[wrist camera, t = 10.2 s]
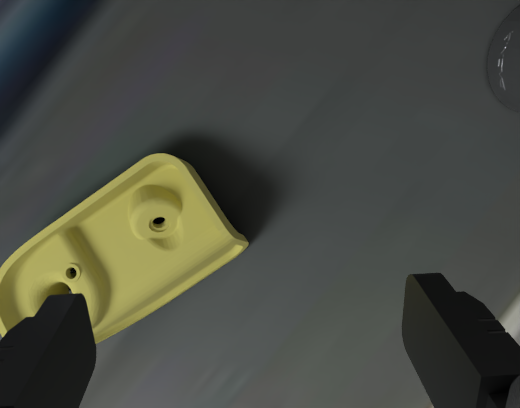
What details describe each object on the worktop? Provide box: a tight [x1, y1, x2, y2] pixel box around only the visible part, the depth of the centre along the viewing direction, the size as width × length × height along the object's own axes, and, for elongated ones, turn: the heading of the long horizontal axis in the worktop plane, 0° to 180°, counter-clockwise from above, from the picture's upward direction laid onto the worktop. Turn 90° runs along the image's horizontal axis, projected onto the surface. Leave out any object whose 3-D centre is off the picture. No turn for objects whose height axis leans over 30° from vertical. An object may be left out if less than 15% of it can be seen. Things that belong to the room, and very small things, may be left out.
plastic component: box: [0, 153, 249, 344], centre depth 39 cm, size 20×7×10 cm
